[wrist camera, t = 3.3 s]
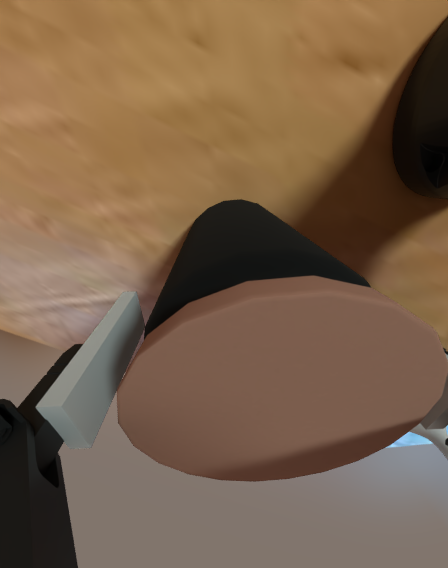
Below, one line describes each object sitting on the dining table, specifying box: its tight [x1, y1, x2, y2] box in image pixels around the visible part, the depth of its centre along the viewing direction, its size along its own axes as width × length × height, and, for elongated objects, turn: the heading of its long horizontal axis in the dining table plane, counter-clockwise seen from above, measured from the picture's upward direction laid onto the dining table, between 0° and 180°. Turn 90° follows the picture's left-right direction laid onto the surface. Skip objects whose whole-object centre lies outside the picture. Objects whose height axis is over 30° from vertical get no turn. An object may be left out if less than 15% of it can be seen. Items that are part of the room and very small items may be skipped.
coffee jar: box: [117, 200, 448, 481], centre depth 14 cm, size 11×11×18 cm
